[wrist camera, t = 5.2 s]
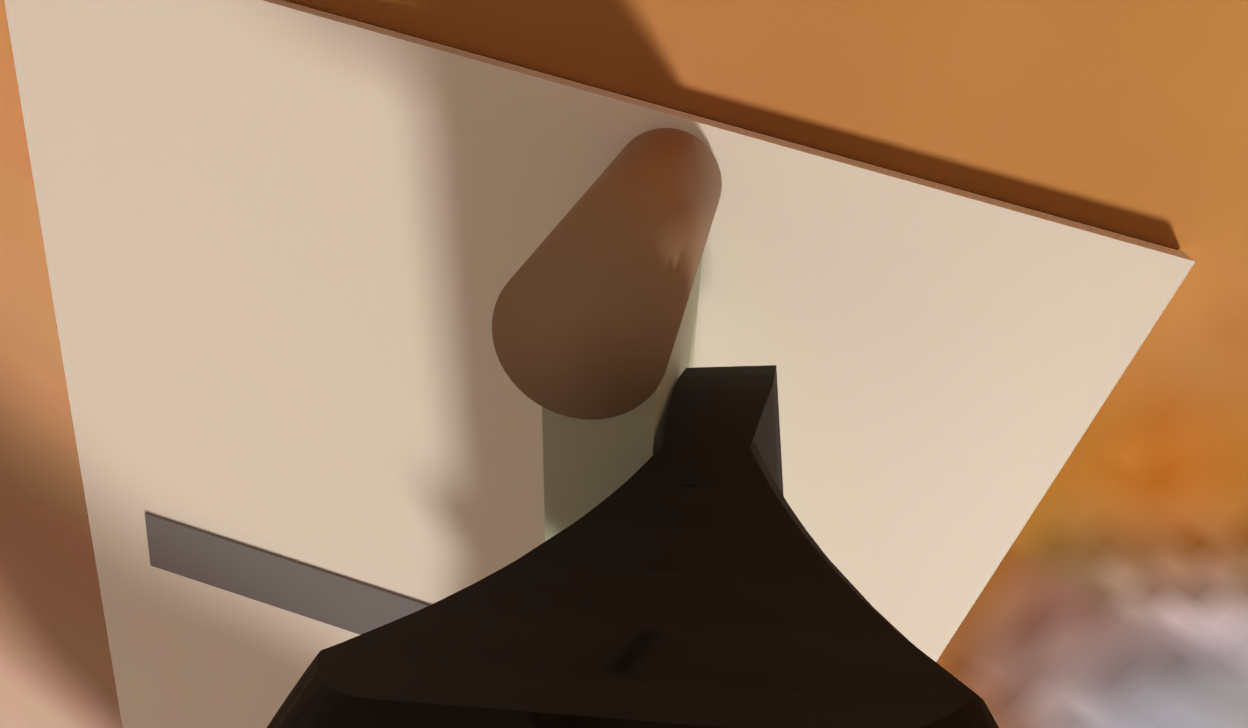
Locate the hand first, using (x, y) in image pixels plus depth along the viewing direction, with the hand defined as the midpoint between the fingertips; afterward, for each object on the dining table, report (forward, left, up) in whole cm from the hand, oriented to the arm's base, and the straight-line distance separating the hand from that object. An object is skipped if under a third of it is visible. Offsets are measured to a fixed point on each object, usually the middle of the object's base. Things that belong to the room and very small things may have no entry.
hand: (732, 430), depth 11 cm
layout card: (-8, +4, -3) cm, 9 cm away
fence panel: (-2, +1, -2) cm, 3 cm away
